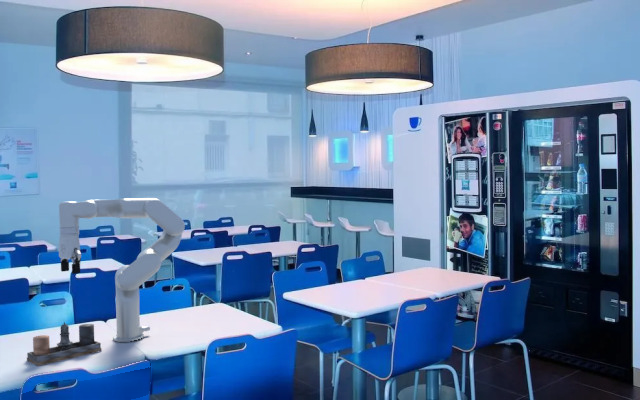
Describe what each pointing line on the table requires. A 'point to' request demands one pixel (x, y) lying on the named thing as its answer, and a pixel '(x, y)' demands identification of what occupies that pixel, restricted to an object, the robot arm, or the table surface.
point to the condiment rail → (49, 355)
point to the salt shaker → (64, 338)
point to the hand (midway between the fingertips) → (70, 272)
